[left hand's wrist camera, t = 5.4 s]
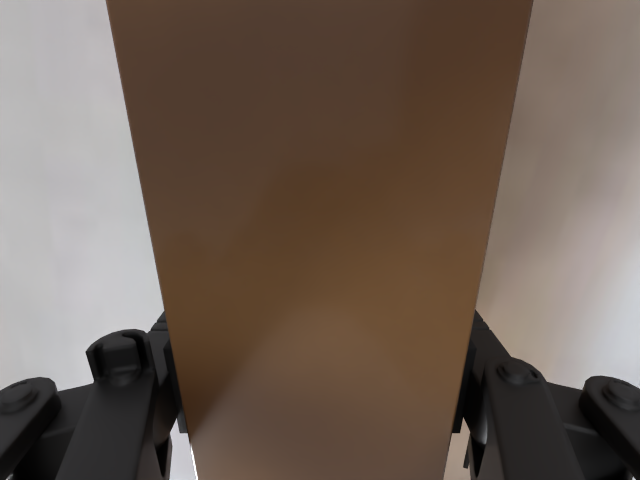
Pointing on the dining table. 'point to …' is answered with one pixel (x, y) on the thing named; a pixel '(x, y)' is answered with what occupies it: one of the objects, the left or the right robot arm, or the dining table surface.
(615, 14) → the dining table surface
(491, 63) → the beam
